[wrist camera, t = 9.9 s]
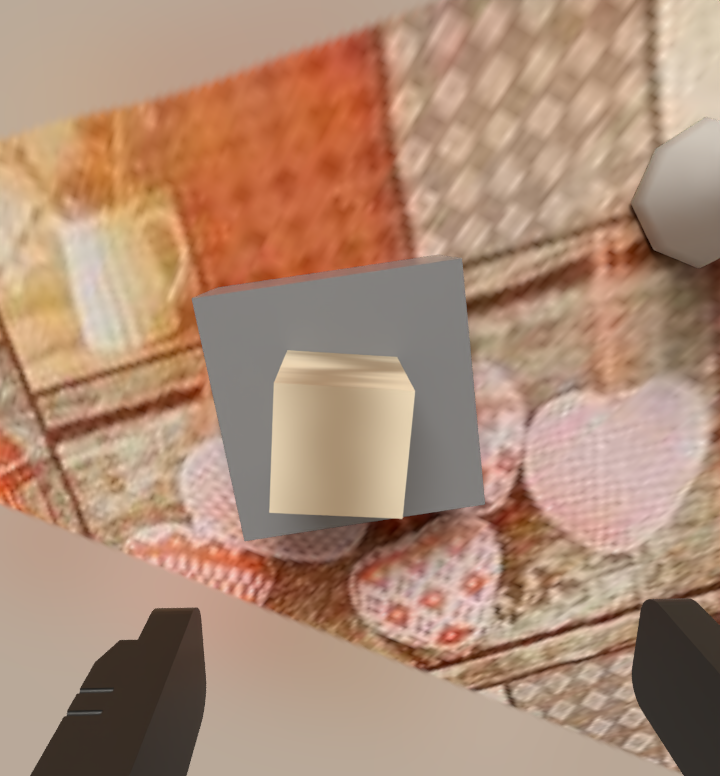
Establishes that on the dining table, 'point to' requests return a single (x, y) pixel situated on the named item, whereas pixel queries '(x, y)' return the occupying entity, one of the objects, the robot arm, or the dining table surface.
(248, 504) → the grey box
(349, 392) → the birch block
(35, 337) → the dining table surface
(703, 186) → the flask
